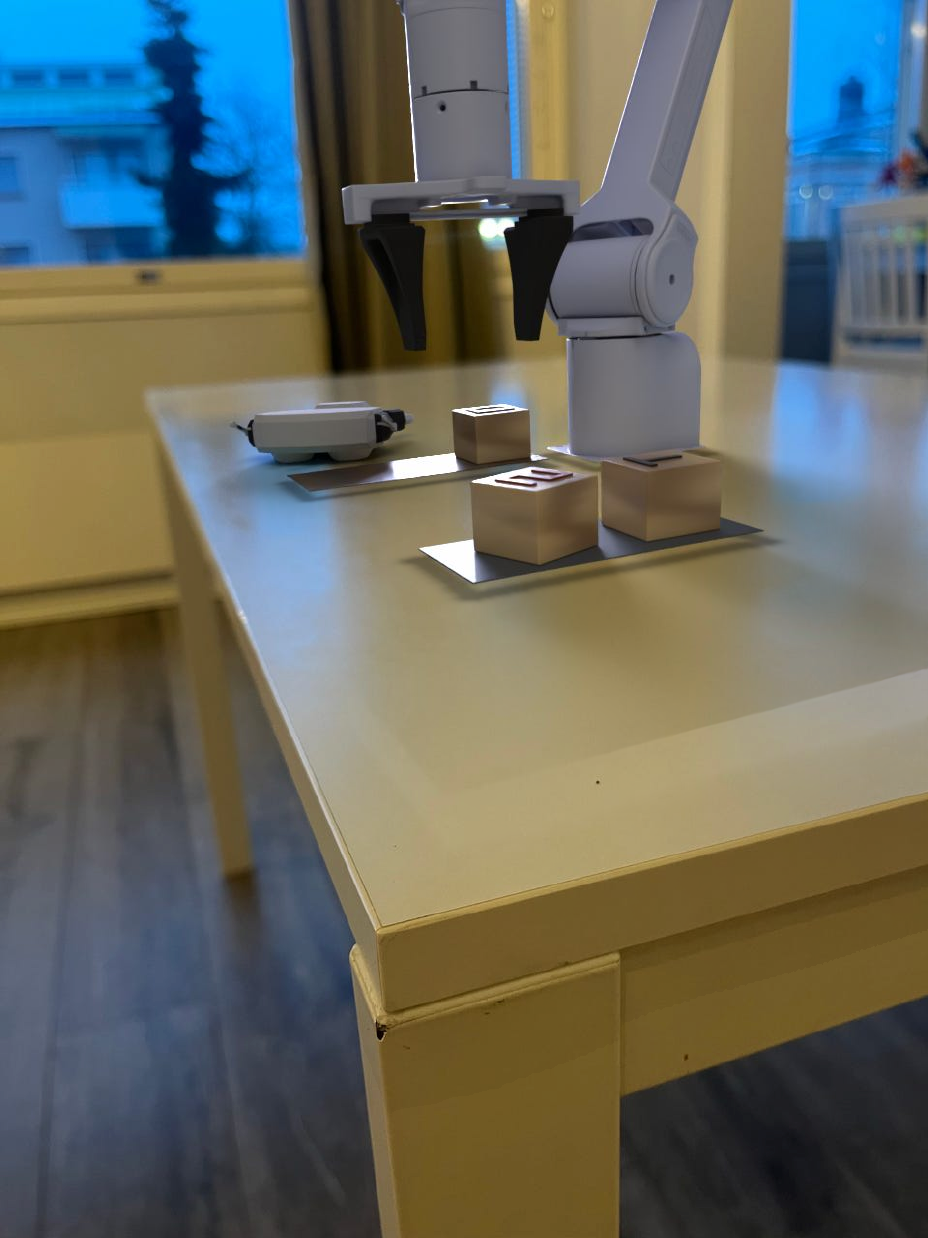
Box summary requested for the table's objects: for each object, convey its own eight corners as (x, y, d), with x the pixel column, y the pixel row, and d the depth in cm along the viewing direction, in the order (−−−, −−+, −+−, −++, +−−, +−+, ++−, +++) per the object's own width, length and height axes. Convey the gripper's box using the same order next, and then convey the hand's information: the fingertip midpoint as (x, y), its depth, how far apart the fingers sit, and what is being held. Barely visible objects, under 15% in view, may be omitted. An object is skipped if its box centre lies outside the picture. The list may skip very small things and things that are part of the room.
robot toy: (291, 453, 88) (230, 473, 73) (287, 403, 86) (224, 413, 72) (423, 449, 86) (386, 468, 71) (420, 397, 85) (382, 406, 70)
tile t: (670, 513, 52) (671, 446, 51) (720, 529, 48) (723, 458, 47) (600, 524, 51) (600, 456, 50) (646, 542, 47) (647, 469, 46)
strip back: (508, 453, 76) (508, 446, 76) (549, 466, 70) (549, 458, 70) (287, 482, 70) (286, 474, 70) (311, 499, 64) (309, 491, 64)
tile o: (506, 449, 75) (504, 402, 74) (531, 457, 71) (529, 408, 70) (454, 456, 73) (451, 408, 72) (477, 464, 69) (474, 414, 68)
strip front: (682, 515, 54) (682, 504, 54) (764, 541, 48) (764, 529, 48) (418, 559, 49) (417, 548, 48) (473, 596, 42) (472, 583, 42)
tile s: (533, 532, 50) (530, 464, 49) (599, 545, 47) (598, 472, 46) (473, 551, 47) (468, 479, 46) (539, 566, 44) (537, 489, 43)
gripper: (360, 84, 49) (382, 357, 53) (605, 88, 54) (607, 338, 59) (324, 109, 55) (347, 352, 60) (547, 110, 60) (552, 335, 65)
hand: (472, 345), depth 60 cm, fingers open, 7 cm apart
